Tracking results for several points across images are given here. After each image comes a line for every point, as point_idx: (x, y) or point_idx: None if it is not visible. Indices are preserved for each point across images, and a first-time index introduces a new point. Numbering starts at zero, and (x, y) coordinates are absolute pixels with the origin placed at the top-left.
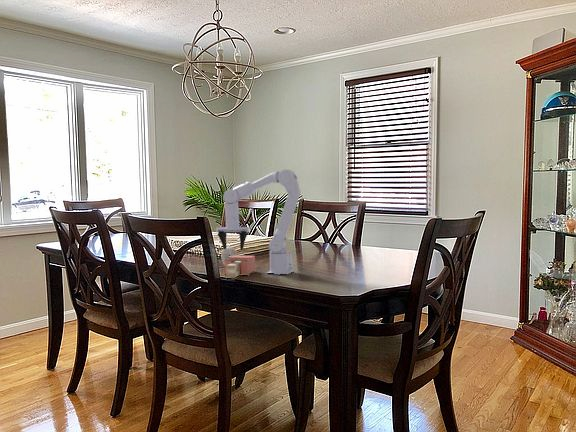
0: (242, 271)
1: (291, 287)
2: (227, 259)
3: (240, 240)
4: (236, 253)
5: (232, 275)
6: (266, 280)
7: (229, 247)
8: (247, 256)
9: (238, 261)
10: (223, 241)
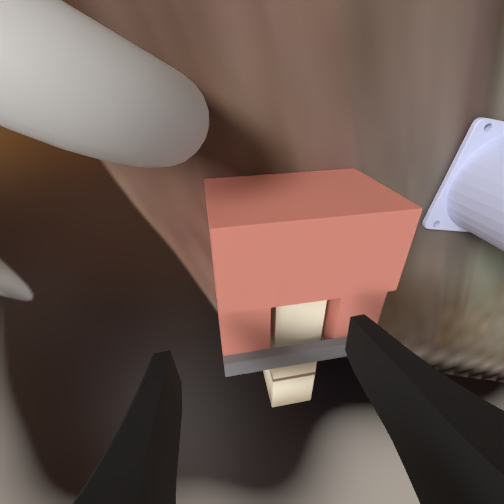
0: None
1: (483, 367)
2: (246, 372)
3: (404, 456)
4: (198, 125)
5: None
6: (417, 325)
7: (54, 126)
8: (362, 252)
9: (301, 314)
10: (174, 494)
